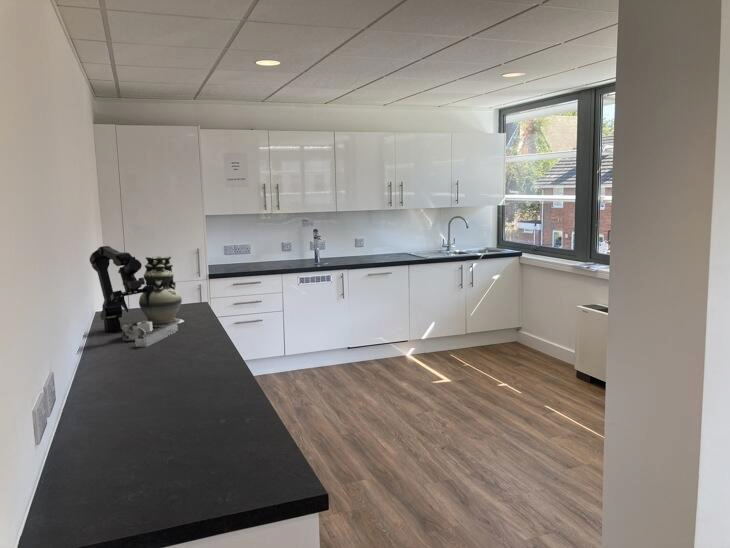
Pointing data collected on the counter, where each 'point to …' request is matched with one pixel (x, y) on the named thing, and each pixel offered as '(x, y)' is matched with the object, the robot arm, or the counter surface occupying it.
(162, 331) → the bracket
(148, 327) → the module
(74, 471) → the counter surface
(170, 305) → the decorative urn
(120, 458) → the counter surface
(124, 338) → the rock
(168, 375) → the counter surface
